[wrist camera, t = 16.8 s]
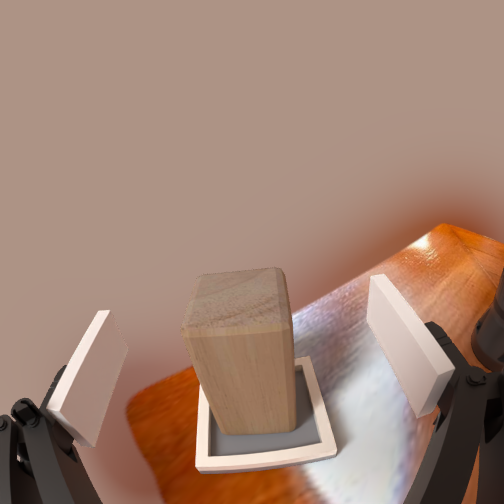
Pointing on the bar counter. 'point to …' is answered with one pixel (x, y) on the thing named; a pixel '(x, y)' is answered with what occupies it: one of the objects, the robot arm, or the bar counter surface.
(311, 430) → the locating plate
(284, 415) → the wooden block
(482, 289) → the bar counter surface
